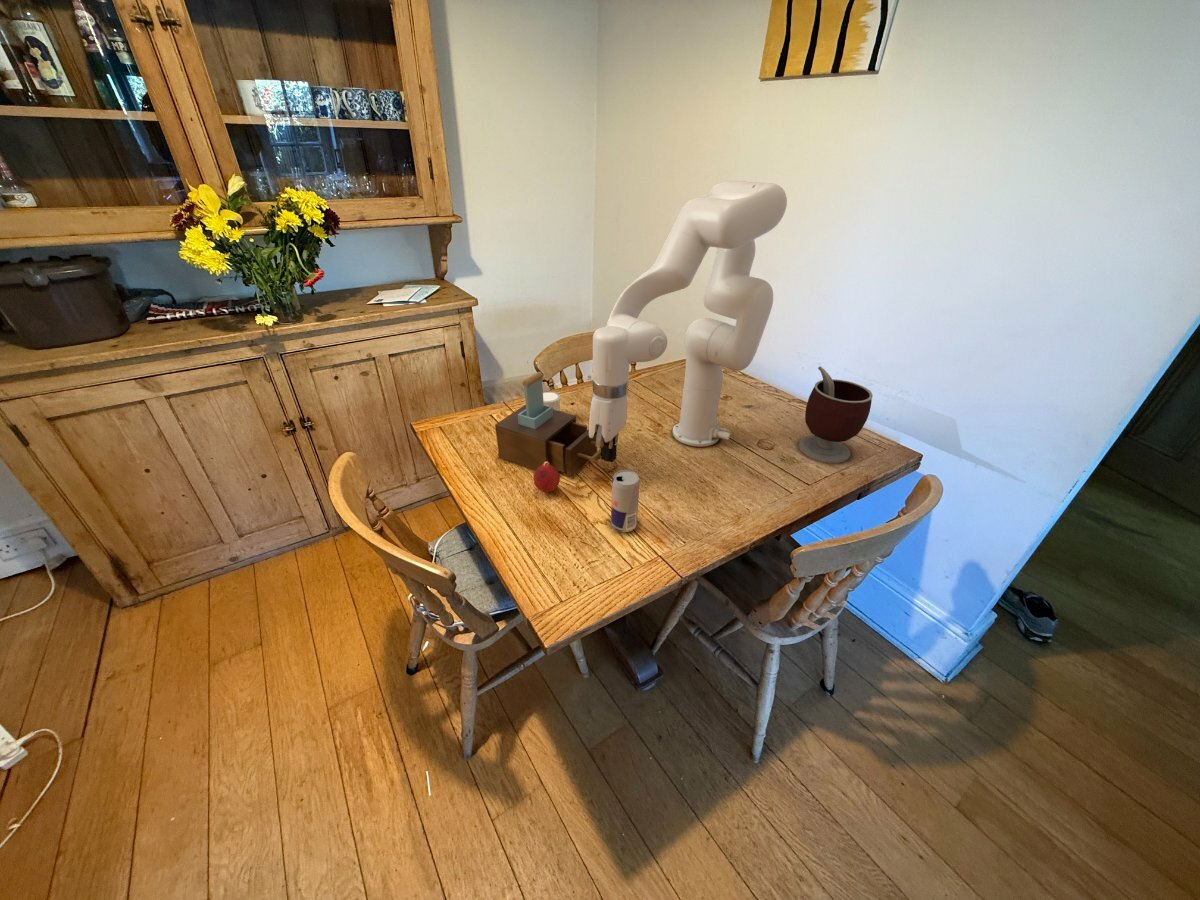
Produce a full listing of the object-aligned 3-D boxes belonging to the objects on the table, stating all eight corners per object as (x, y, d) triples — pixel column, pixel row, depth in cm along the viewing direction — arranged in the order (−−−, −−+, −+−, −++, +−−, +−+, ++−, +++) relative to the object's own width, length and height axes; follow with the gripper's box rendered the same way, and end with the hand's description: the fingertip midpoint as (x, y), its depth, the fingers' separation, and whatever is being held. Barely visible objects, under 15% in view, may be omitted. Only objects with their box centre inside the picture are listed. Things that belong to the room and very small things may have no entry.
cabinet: (577, 448, 120) (576, 415, 114) (547, 474, 110) (545, 440, 104) (531, 433, 126) (528, 402, 120) (499, 457, 115) (494, 424, 110)
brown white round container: (557, 425, 130) (556, 403, 126) (534, 422, 131) (532, 400, 127) (563, 414, 135) (563, 392, 131) (541, 411, 136) (540, 390, 133)
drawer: (614, 458, 114) (615, 431, 110) (589, 484, 105) (589, 455, 101) (552, 439, 122) (551, 413, 117) (524, 462, 112) (521, 434, 108)
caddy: (553, 416, 114) (550, 372, 108) (535, 429, 109) (531, 384, 102) (536, 411, 116) (533, 368, 110) (518, 424, 111) (513, 379, 104)
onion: (549, 502, 101) (547, 473, 96) (529, 494, 103) (526, 464, 99) (565, 489, 105) (564, 460, 101) (545, 480, 107) (543, 452, 103)
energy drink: (609, 516, 97) (610, 469, 91) (634, 515, 98) (637, 468, 91) (612, 533, 93) (613, 486, 86) (638, 532, 93) (642, 485, 87)
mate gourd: (865, 458, 117) (893, 386, 106) (823, 469, 112) (848, 395, 101) (819, 429, 129) (840, 362, 118) (780, 439, 124) (798, 370, 113)
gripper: (610, 371, 104) (609, 440, 114) (576, 396, 93) (578, 471, 103) (641, 378, 101) (636, 448, 111) (609, 405, 90) (607, 480, 100)
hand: (608, 459), depth 107 cm, fingers closed
